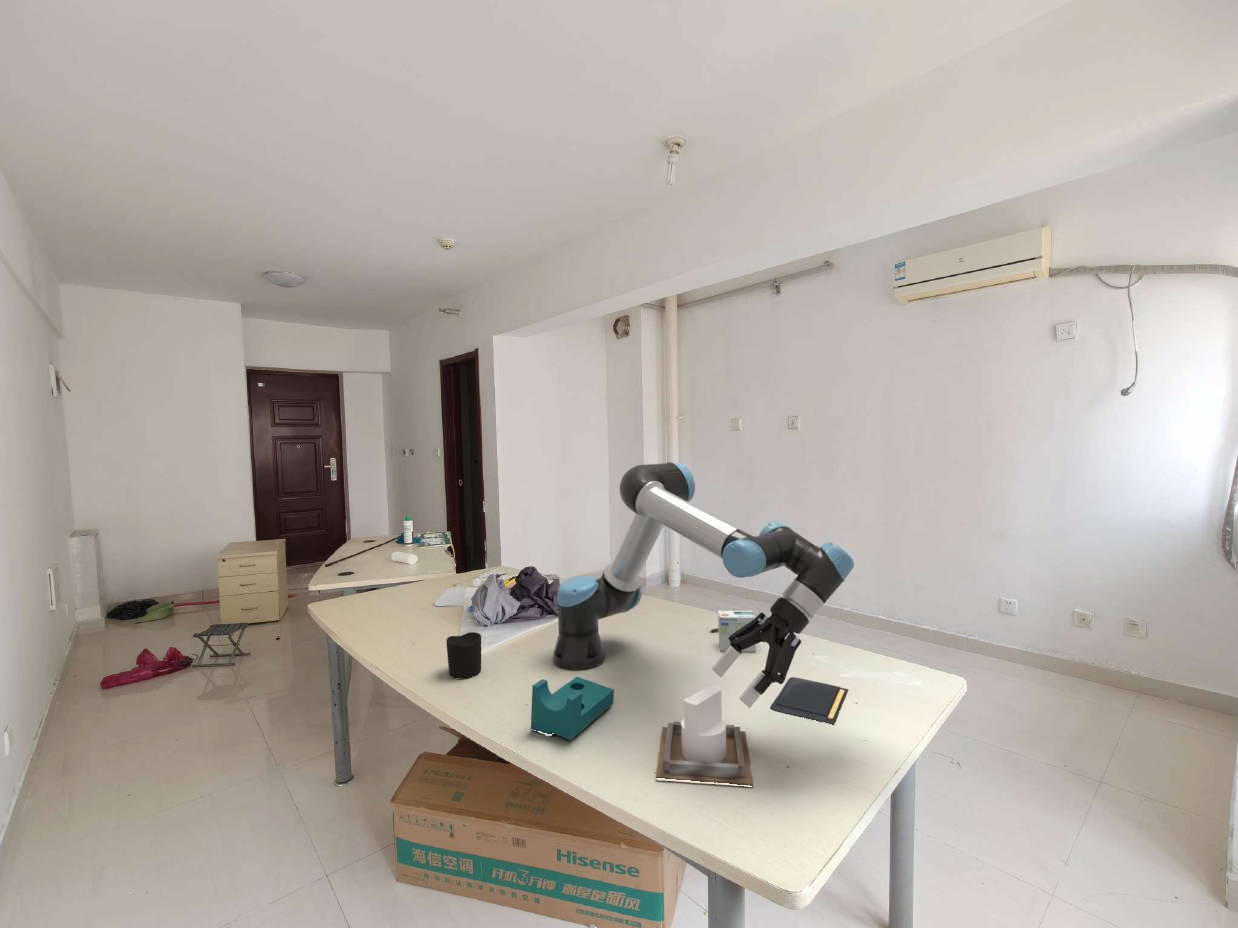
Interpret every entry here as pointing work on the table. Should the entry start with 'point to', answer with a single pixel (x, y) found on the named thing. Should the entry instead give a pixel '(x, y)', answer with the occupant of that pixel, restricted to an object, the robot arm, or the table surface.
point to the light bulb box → (732, 626)
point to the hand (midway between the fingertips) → (729, 687)
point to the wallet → (810, 700)
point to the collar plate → (727, 771)
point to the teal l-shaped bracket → (568, 706)
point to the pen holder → (464, 655)
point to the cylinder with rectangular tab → (703, 727)
